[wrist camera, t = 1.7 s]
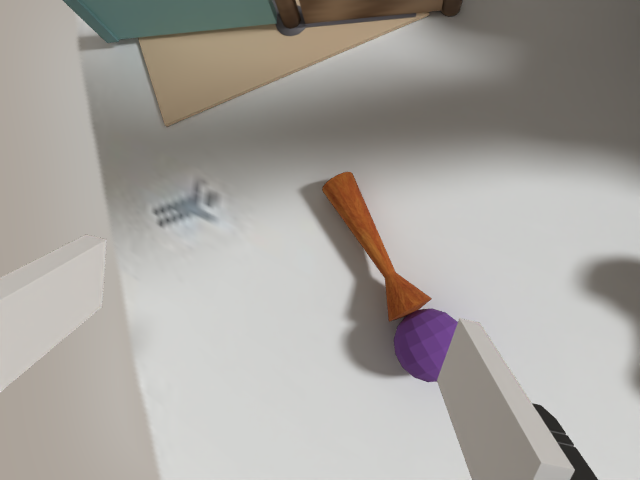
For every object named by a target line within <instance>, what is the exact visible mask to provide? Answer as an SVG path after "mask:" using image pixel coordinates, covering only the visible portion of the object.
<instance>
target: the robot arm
mask: <svg viewBox="0 0 640 480" xmlns="http://www.w3.org/2000/svg"><path fill="white" fill-rule="evenodd" d="M106 243H107V239H103V238H98V237H94V236H90V235H84V236H82V237H80V238H78V239H76V240H74V241H72V242H70V243H68V244H66V245H64V246H62V247H60V248H58V249H56V250H54V251H52V252H50V253H48V254H46V255H44V256H42V257H40V258H38V259H36V260H34V261H32V262H30V263H28V264H26V265H24V266H22V267H20V268H18V269H16V270H15V271H12V272H10V273H8V274H7V275H4V276H3V277H1V278H0V392H1V391H2V390H4V389H5V388H6V387H7V386H8V385H10V384H11V383H12V382H13V381H14V380H16V379H17V378H18V377H19V376H20V375H21V374H23V373H24V372H25V371H26V370H27V369H29V368H30V367H31V366H32V365H33V364H35V363H36V362H37V361H38V360H39V359H40V358H42V357H43V356H44V355H45V354H46V353H48V352H49V351H50V350H51V349H52V348H53V347H55V346H56V345H57V344H58V343H59V342H61V341H62V340H63V339H64V338H65V337H67V336H68V335H69V334H70V333H71V332H73V331H74V330H75V329H76V328H77V327H78V326H79V325H81V324H82V323H83V322H84V321H85V320H87V319H88V318H89V317H90V316H91V315H93V314H94V313H95V312H96V311H97V310H99V309H100V308H101V307H102V299H103V285H104V271H105V257H106ZM437 382H438V385H439V388H440V390H441V393H442V396H443V399H444V402H445V405H446V407H447V410H448V413H449V416H450V419H451V421H452V424H453V427H454V430H455V433H456V436H457V438H458V441H459V444H460V447H461V450H462V452H463V455H464V458H465V461H466V464H467V467H468V469H469V472H470V475H471V478H472V480H598V479H597V477H596V476H595V475H594V473H593V472H592V470H591V469H590V467H589V466H588V464H587V463H586V462H585V460H584V459H583V457H582V456H581V454H580V453H579V451H578V450H577V449H576V447H574V444H573V443H572V441H571V440H570V438H569V437H568V436H567V435H566V433H565V431H564V430H563V428H562V427H561V425H560V424H559V422H558V421H557V420H556V418H554V417H553V416H552V415H551V414H550V413H549V412H548V411H547V410H546V409H544V408H543V407H542V406H541V405H537V404H533V403H531V401H530V400H529V398H528V397H527V395H526V394H525V392H524V390H523V389H522V387H521V386H520V384H519V383H518V381H517V380H516V378H515V377H514V375H513V373H512V372H511V370H510V369H509V367H508V366H507V364H506V363H505V361H504V360H503V358H502V356H501V355H500V353H499V352H498V350H497V349H496V347H495V346H494V344H493V343H492V341H491V339H490V338H489V336H488V335H487V333H486V332H485V330H484V329H483V327H482V326H481V324H480V323H479V322H474V321H470V320H465V319H461V318H459V321H458V324H457V326H456V329H455V332H454V335H453V337H452V340H451V343H450V346H449V349H448V351H447V354H446V357H445V360H444V362H443V365H442V368H441V371H440V373H439V376H438V379H437Z"/></svg>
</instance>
